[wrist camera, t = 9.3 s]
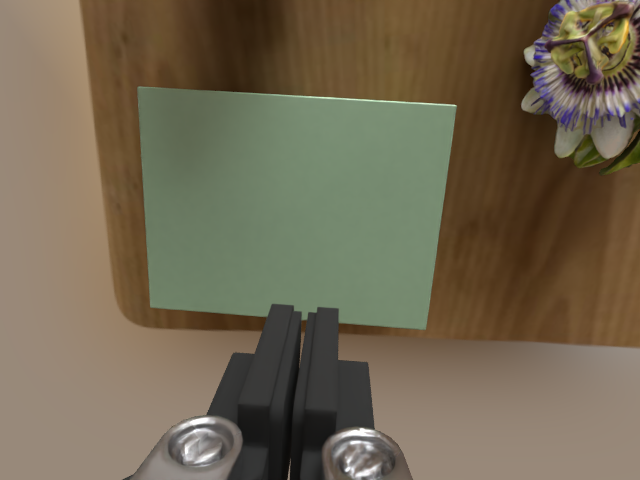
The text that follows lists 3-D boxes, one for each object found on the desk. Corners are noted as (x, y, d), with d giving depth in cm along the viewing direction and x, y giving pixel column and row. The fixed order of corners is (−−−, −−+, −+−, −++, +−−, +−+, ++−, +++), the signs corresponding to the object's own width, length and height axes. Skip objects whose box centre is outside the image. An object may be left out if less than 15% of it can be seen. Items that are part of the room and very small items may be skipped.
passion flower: (509, 63, 35) (540, -88, 24) (675, 49, 32) (797, -128, 21) (514, 200, 32) (553, 98, 21) (699, 198, 29) (858, 79, 18)
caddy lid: (453, 104, 24) (457, 104, 23) (424, 324, 27) (426, 330, 27) (143, 86, 25) (136, 86, 24) (155, 302, 28) (149, 308, 28)
